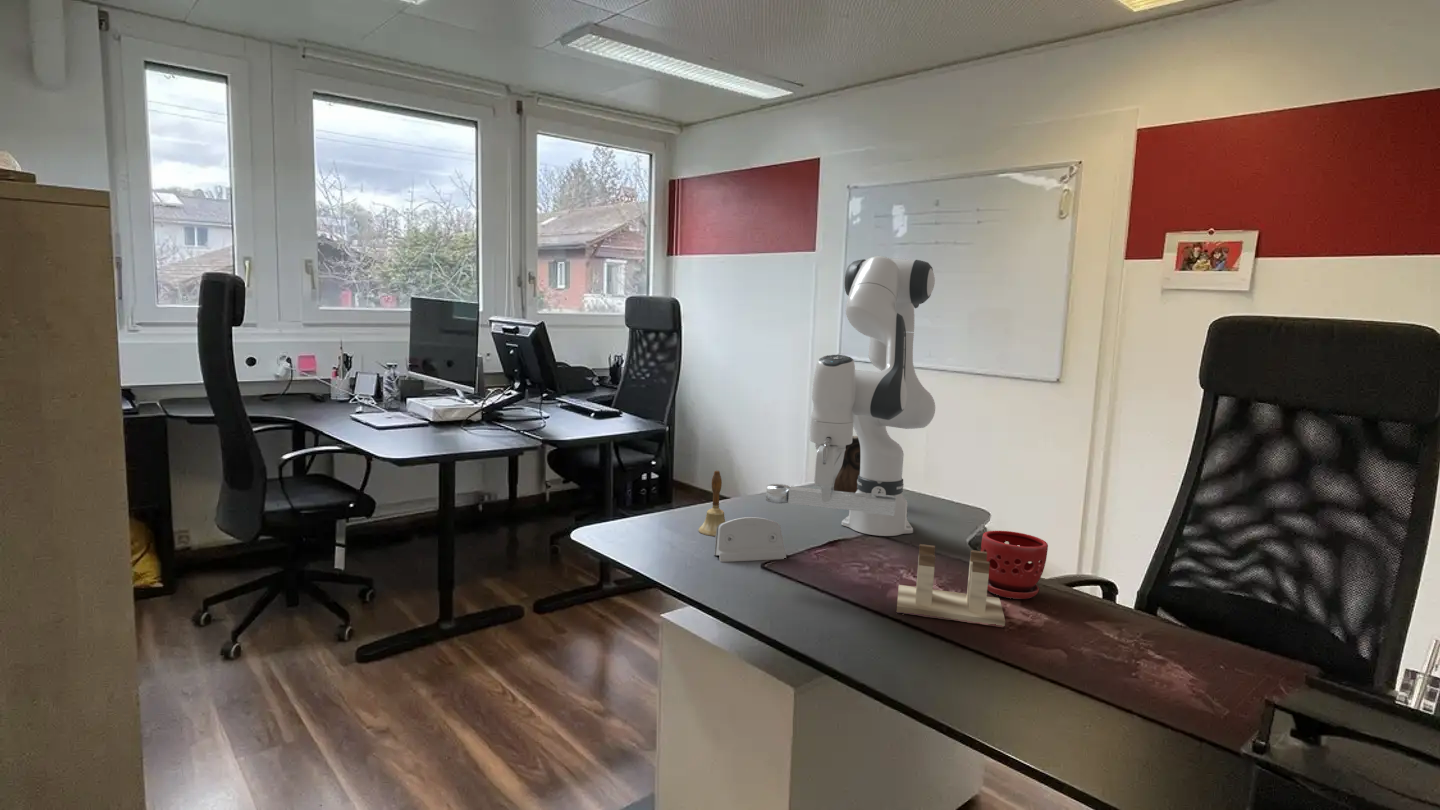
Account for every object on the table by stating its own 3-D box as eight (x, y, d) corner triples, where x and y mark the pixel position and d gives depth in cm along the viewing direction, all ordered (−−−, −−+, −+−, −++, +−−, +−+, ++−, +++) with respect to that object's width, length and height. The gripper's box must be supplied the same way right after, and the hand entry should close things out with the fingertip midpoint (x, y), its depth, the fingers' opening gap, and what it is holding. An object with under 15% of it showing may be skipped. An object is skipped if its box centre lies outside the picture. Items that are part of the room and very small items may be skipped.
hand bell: (734, 535, 196) (737, 474, 194) (702, 536, 194) (705, 474, 192) (726, 526, 204) (728, 466, 202) (695, 527, 202) (697, 467, 200)
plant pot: (1048, 606, 158) (1055, 550, 156) (982, 599, 160) (987, 543, 159) (1035, 584, 171) (1040, 531, 169) (973, 577, 173) (978, 525, 171)
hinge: (718, 561, 176) (716, 517, 178) (713, 562, 180) (711, 518, 182) (788, 558, 180) (785, 515, 182) (781, 559, 185) (778, 516, 187)
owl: (873, 503, 234) (878, 438, 231) (832, 502, 233) (837, 437, 230) (862, 493, 246) (867, 431, 243) (823, 492, 245) (827, 430, 242)
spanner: (764, 502, 164) (764, 487, 164) (768, 496, 169) (769, 482, 168) (894, 516, 157) (895, 501, 157) (894, 509, 162) (896, 495, 162)
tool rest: (898, 591, 162) (902, 538, 161) (998, 605, 158) (1003, 550, 156) (896, 613, 151) (900, 556, 149) (1004, 628, 146) (1010, 570, 144)
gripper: (841, 443, 150) (836, 512, 152) (850, 427, 170) (846, 488, 172) (809, 441, 152) (805, 509, 154) (822, 425, 171) (818, 485, 173)
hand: (827, 498), depth 163 cm, fingers closed on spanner, 3 cm apart
